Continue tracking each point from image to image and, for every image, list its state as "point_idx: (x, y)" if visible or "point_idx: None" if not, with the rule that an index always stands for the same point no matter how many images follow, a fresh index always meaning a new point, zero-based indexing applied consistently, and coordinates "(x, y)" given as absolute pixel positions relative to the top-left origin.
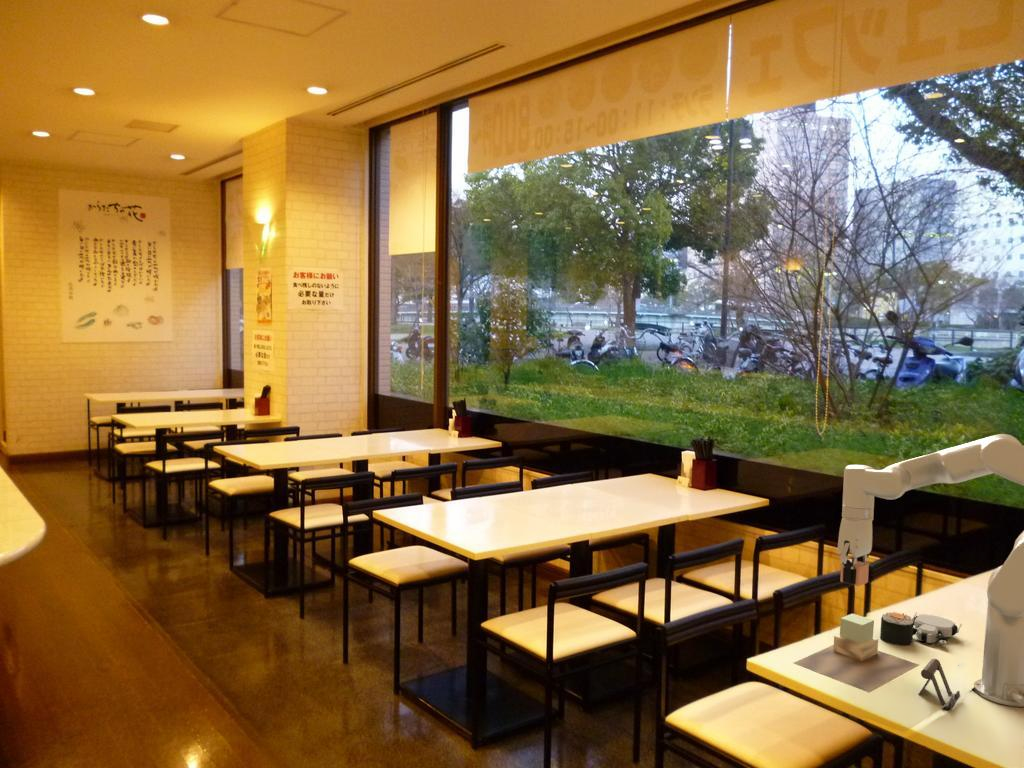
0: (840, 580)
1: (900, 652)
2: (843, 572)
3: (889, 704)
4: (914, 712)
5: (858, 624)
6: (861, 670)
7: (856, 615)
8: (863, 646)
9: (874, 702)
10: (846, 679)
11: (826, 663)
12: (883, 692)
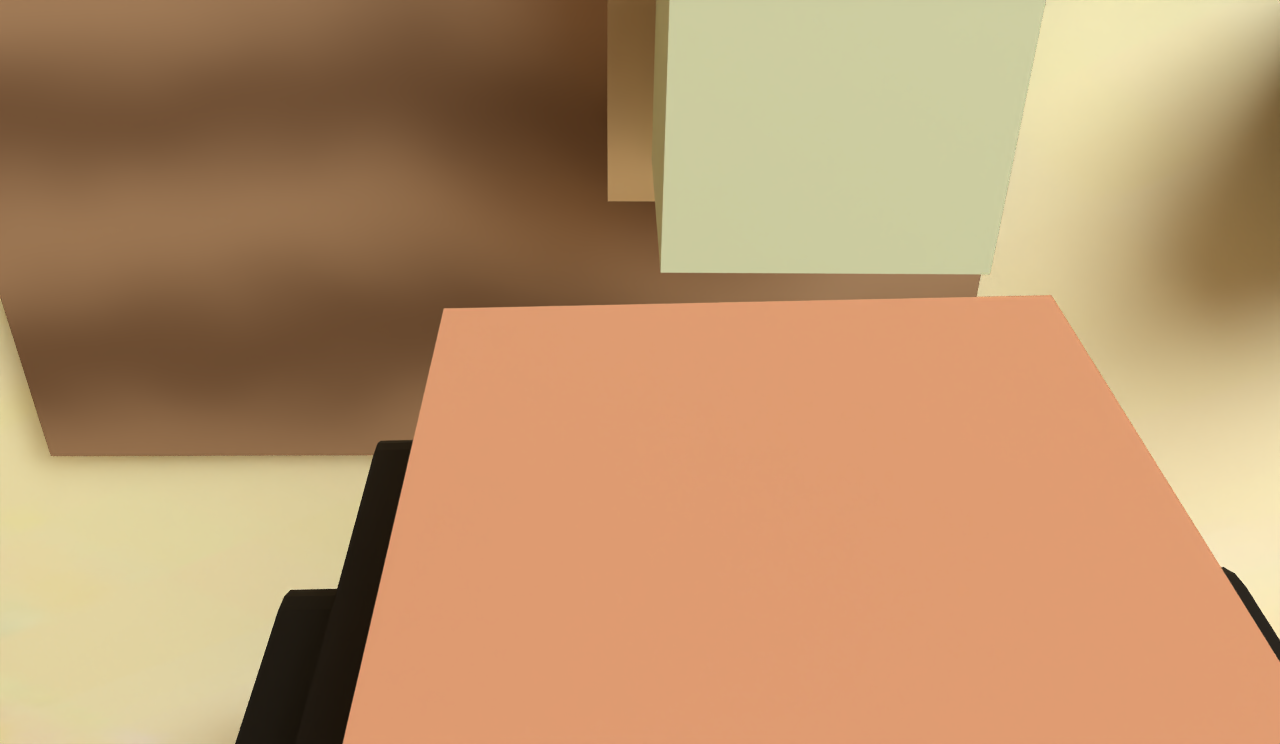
0: (442, 328)
1: (1216, 197)
2: (331, 645)
3: (107, 559)
4: (168, 675)
5: (663, 213)
6: (383, 233)
7: (1002, 27)
8: (615, 198)
9: (24, 496)
10: (70, 247)
11: None
12: (242, 463)
